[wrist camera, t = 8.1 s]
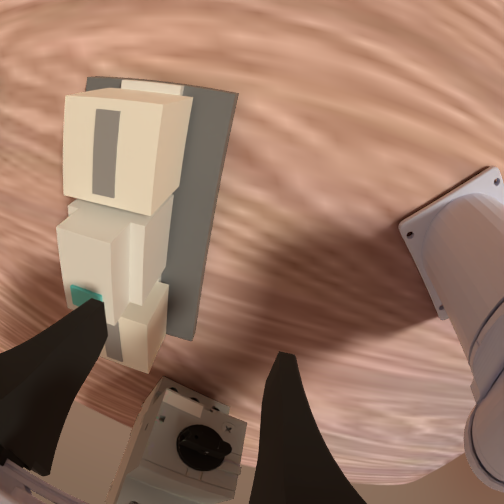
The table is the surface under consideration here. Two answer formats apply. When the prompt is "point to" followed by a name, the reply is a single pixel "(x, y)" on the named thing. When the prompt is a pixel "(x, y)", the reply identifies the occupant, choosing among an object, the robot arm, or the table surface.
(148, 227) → the block
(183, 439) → the circuit breaker
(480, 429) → the robot arm
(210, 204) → the rail plate
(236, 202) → the table surface
